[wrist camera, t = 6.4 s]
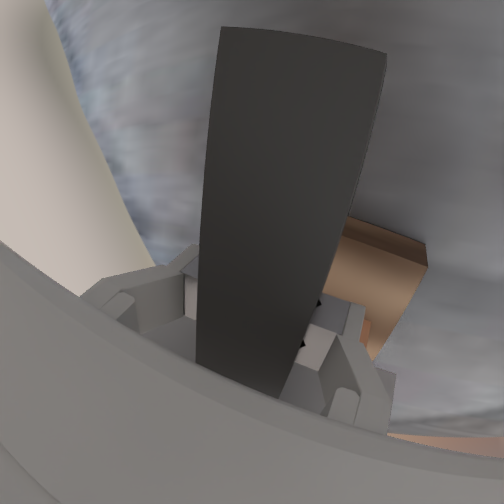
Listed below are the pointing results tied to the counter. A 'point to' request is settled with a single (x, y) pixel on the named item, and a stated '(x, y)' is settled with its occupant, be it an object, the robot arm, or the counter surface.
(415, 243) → the board
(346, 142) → the scraper
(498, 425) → the counter surface
